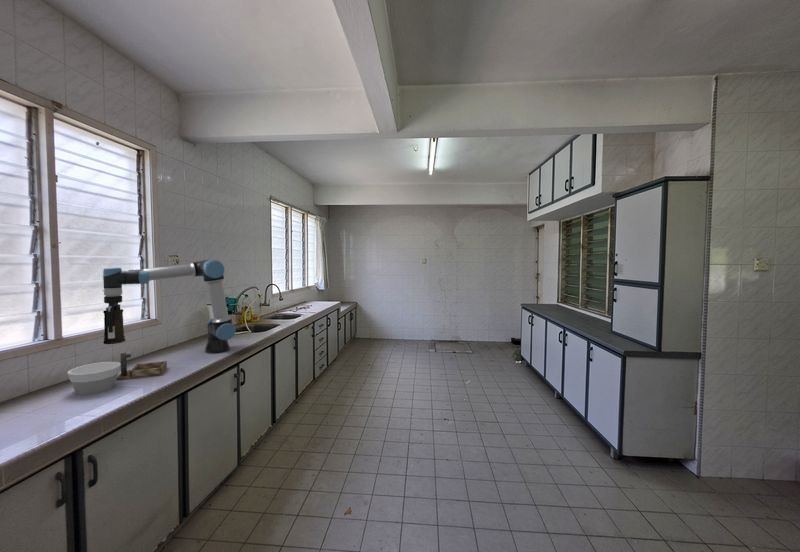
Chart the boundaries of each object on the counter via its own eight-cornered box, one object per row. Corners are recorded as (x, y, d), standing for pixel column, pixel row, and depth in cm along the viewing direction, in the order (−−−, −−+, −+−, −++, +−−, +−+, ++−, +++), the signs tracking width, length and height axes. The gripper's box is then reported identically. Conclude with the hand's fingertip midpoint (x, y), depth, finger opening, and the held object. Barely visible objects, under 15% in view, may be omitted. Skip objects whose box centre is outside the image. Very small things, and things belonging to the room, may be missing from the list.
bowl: (128, 386, 163) (127, 365, 162) (76, 400, 146) (75, 377, 146) (112, 379, 172) (112, 359, 172) (62, 391, 156) (61, 369, 155)
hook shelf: (166, 367, 191) (166, 345, 191) (161, 375, 179) (161, 352, 178) (123, 372, 182) (123, 349, 182) (115, 380, 170) (114, 356, 169)
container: (129, 340, 182) (128, 309, 181) (113, 344, 173) (112, 311, 172) (115, 340, 183) (114, 308, 182) (98, 344, 174) (97, 311, 173)
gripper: (111, 293, 185) (112, 333, 186) (96, 297, 166) (98, 341, 167) (127, 293, 188) (128, 332, 189) (115, 297, 169) (116, 340, 170)
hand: (114, 336), depth 178 cm, fingers closed on container, 8 cm apart
